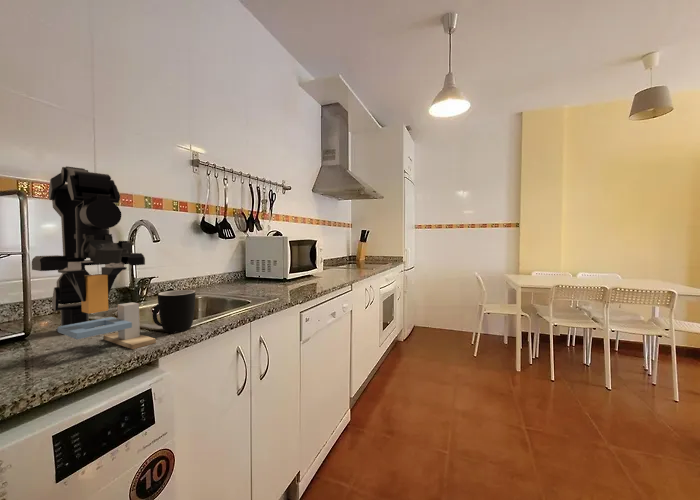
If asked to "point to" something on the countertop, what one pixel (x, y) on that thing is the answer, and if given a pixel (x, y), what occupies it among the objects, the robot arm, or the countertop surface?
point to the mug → (175, 310)
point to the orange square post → (95, 293)
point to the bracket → (108, 324)
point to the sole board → (130, 340)
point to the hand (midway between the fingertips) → (94, 299)
